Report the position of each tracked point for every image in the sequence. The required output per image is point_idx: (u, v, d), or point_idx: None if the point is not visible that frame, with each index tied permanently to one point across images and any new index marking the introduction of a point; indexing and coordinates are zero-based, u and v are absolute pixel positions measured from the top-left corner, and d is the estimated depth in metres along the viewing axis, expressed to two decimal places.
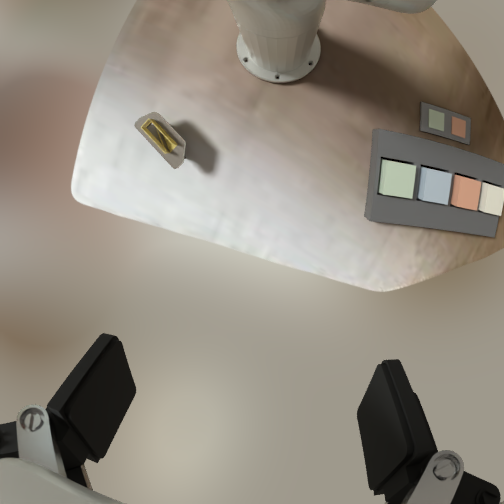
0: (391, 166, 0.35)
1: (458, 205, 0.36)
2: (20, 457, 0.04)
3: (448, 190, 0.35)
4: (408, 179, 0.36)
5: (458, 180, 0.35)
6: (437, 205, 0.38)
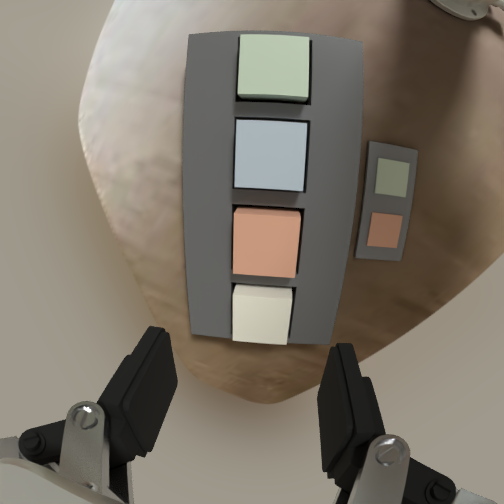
0: (298, 45, 0.16)
1: (236, 218, 0.21)
2: (77, 458, 0.04)
3: (265, 184, 0.20)
4: (278, 80, 0.17)
5: (289, 214, 0.22)
6: (229, 170, 0.22)
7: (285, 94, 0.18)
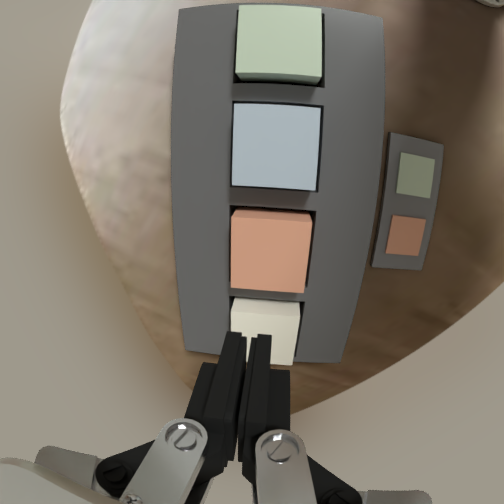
0: (308, 17, 0.12)
1: (234, 223, 0.18)
2: (188, 484, 0.04)
3: (270, 182, 0.17)
4: (284, 57, 0.13)
5: (299, 219, 0.18)
6: (226, 165, 0.18)
7: (293, 73, 0.14)
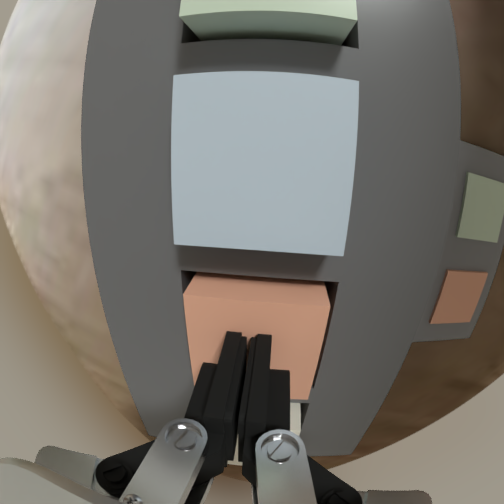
0: None
1: (189, 304, 0.10)
2: (188, 484, 0.04)
3: (250, 240, 0.08)
4: None
5: (306, 296, 0.10)
6: (171, 198, 0.09)
7: (299, 11, 0.05)
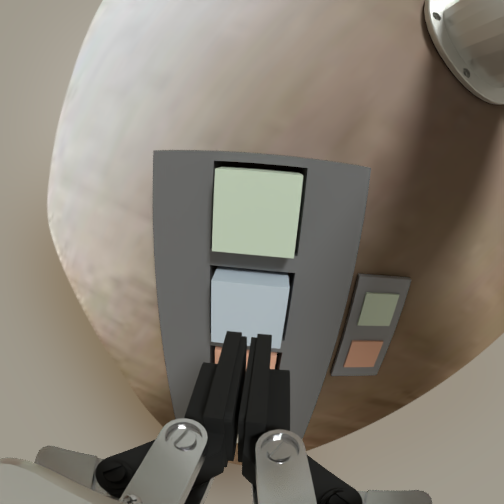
0: (288, 189, 0.16)
1: (217, 353, 0.22)
2: (188, 484, 0.04)
3: None
4: (259, 237, 0.17)
5: None
6: (206, 317, 0.21)
7: (267, 254, 0.17)
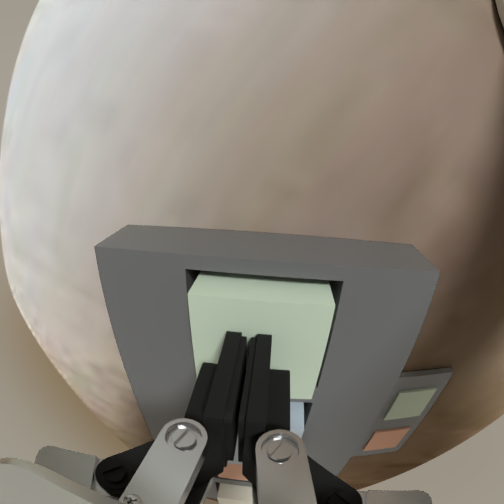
0: (309, 325, 0.09)
1: None
2: (188, 484, 0.04)
3: None
4: None
5: None
6: None
7: None
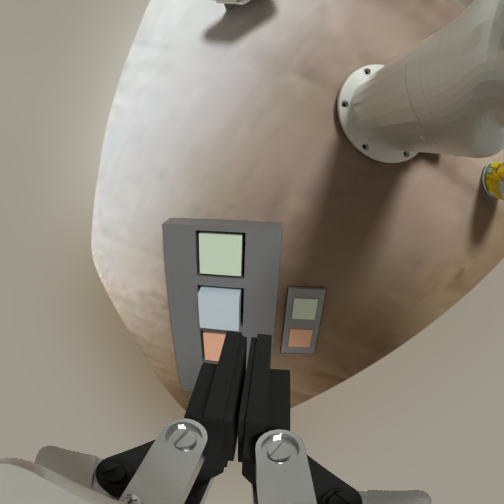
0: (235, 242, 0.33)
1: (204, 335, 0.37)
2: (188, 484, 0.04)
3: (217, 327, 0.35)
4: (222, 266, 0.34)
5: None
6: (197, 314, 0.36)
7: (227, 274, 0.34)
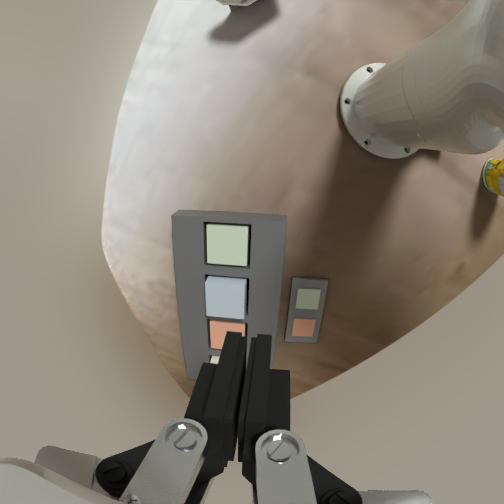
0: (241, 233, 0.34)
1: (211, 323, 0.39)
2: (188, 484, 0.04)
3: (223, 315, 0.37)
4: (229, 256, 0.35)
5: (239, 322, 0.39)
6: (204, 302, 0.38)
7: (233, 264, 0.36)
